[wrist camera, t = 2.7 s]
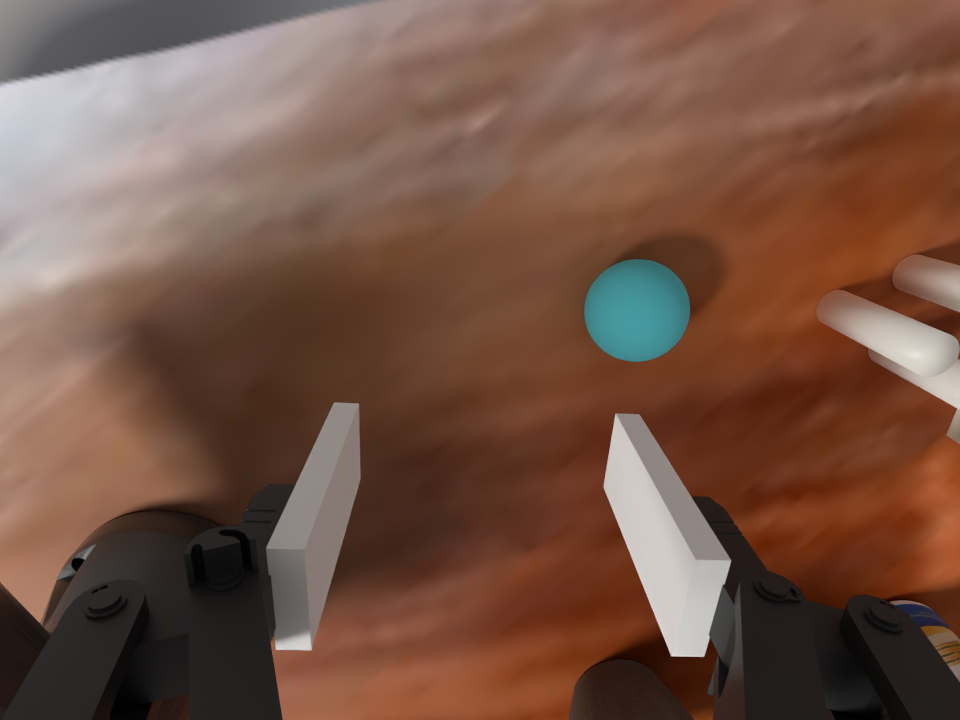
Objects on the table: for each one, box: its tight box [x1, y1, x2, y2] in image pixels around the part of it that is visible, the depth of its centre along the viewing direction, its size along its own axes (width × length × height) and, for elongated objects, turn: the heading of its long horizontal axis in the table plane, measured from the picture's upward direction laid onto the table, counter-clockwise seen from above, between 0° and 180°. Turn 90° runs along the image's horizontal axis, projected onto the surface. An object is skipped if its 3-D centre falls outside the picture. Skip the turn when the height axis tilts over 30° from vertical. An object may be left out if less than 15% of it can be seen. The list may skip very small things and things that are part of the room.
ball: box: [584, 259, 690, 362], centre depth 34 cm, size 6×6×6 cm
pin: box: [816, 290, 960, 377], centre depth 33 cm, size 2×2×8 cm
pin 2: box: [868, 348, 960, 410], centre depth 34 cm, size 2×2×8 cm
